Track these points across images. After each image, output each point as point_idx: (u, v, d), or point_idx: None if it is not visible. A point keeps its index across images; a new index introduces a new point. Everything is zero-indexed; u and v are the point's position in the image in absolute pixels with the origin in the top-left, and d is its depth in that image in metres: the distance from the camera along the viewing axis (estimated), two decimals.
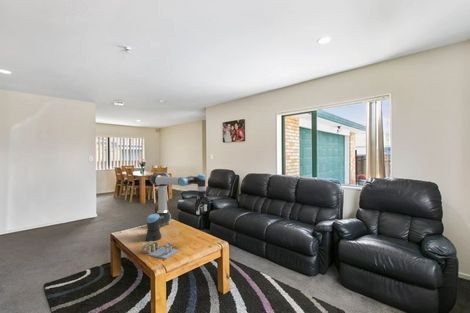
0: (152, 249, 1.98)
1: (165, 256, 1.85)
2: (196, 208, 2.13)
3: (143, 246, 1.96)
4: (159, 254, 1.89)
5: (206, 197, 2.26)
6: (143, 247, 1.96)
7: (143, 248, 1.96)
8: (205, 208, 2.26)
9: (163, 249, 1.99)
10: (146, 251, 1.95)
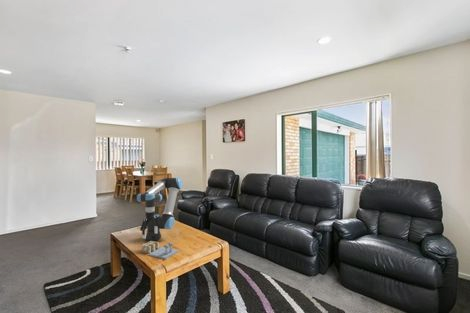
0: (152, 249, 1.98)
1: (165, 256, 1.85)
2: (142, 232, 1.92)
3: (143, 246, 1.96)
4: (159, 254, 1.89)
5: (157, 218, 2.06)
6: (143, 247, 1.96)
7: (143, 248, 1.96)
8: (155, 230, 2.05)
9: (163, 249, 1.99)
10: (146, 251, 1.95)
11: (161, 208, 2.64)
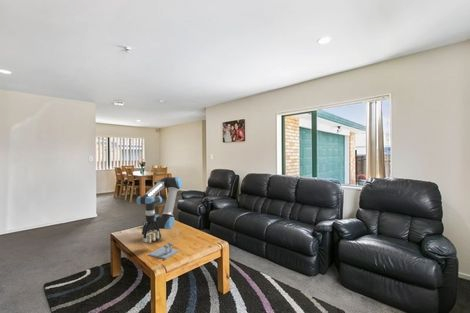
0: (152, 238, 1.98)
1: (165, 256, 1.85)
2: (144, 235, 1.94)
3: (143, 235, 1.97)
4: (159, 254, 1.89)
5: (157, 221, 2.06)
6: (143, 236, 1.97)
7: (143, 237, 1.97)
8: None
9: (163, 249, 1.99)
10: None
11: (161, 208, 2.64)
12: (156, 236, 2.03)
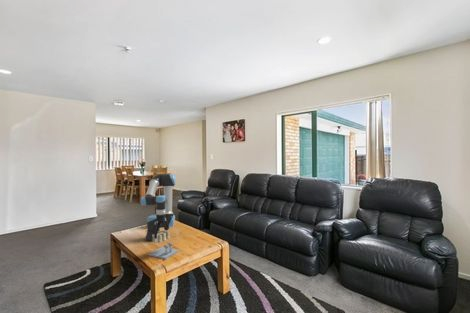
0: (163, 238, 1.93)
1: (165, 256, 1.85)
2: (154, 235, 1.88)
3: (153, 235, 1.91)
4: (159, 254, 1.89)
5: (167, 221, 2.00)
6: (153, 236, 1.91)
7: (153, 237, 1.91)
8: None
9: (163, 249, 1.99)
10: None
11: None
12: (166, 236, 1.98)
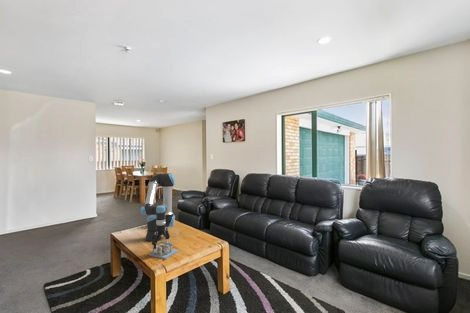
0: (163, 250, 1.93)
1: (165, 256, 1.85)
2: None
3: None
4: (159, 254, 1.89)
5: (167, 231, 2.01)
6: None
7: None
8: None
9: None
10: (157, 252, 1.90)
11: None
12: None
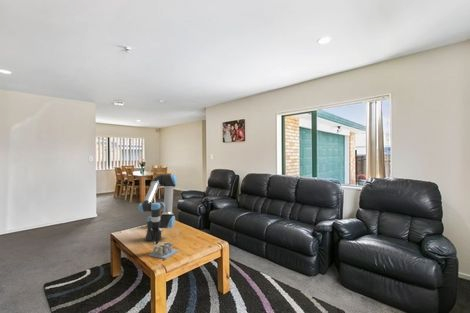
0: (163, 250, 1.93)
1: (165, 256, 1.85)
2: (154, 241, 1.98)
3: (154, 247, 1.91)
4: None
5: (159, 233, 1.94)
6: (154, 248, 1.91)
7: (154, 249, 1.91)
8: None
9: None
10: (157, 253, 1.90)
11: None
12: None
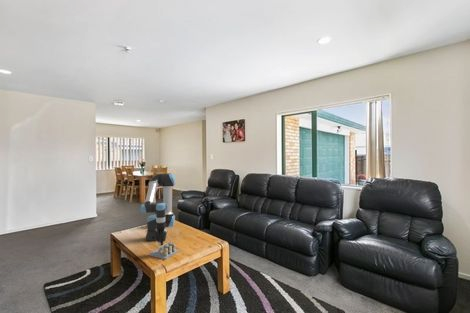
0: (169, 251, 1.90)
1: (165, 256, 1.85)
2: (159, 242, 1.96)
3: (159, 248, 1.89)
4: None
5: (164, 234, 1.92)
6: (159, 249, 1.89)
7: (159, 250, 1.89)
8: None
9: None
10: (163, 254, 1.87)
11: None
12: (172, 249, 1.95)
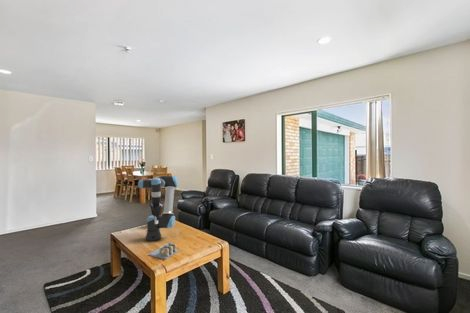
0: (170, 252, 1.90)
1: (165, 256, 1.85)
2: None
3: (160, 248, 1.88)
4: (159, 254, 1.89)
5: (159, 208, 1.94)
6: (160, 250, 1.88)
7: (160, 250, 1.88)
8: None
9: None
10: (164, 254, 1.87)
11: None
12: (173, 249, 1.94)
